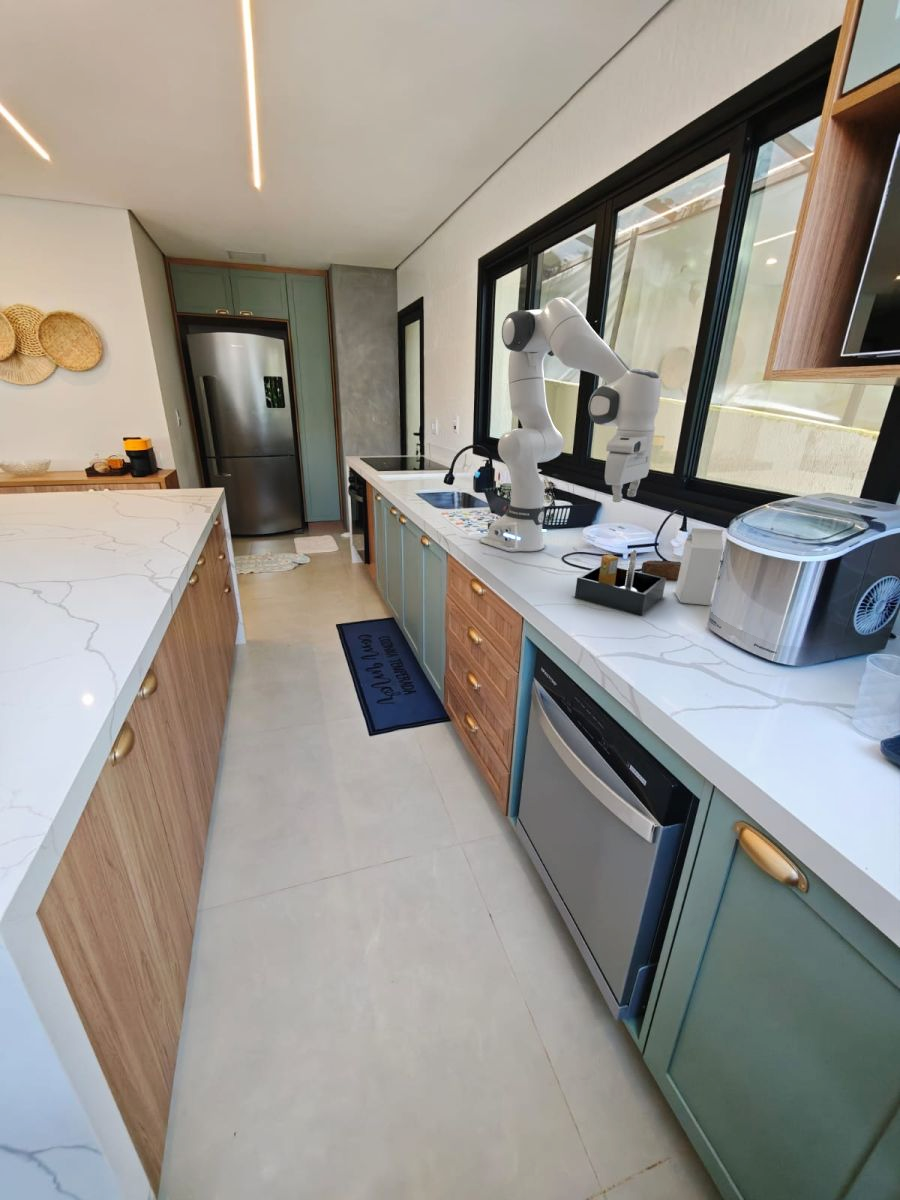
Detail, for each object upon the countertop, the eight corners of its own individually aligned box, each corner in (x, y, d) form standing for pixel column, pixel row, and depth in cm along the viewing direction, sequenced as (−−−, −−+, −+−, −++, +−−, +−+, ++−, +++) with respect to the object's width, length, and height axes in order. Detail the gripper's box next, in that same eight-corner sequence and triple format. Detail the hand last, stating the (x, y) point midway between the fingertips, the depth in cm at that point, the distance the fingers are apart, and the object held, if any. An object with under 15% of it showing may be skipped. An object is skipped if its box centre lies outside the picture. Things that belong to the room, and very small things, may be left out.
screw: (636, 595, 132) (636, 602, 128) (616, 593, 134) (616, 599, 130) (644, 548, 127) (644, 553, 123) (624, 546, 129) (624, 551, 125)
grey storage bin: (574, 597, 132) (577, 577, 130) (599, 582, 143) (602, 563, 141) (641, 616, 122) (645, 594, 120) (662, 597, 133) (666, 578, 131)
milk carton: (709, 605, 128) (727, 533, 121) (680, 603, 130) (695, 531, 122) (702, 595, 135) (718, 526, 128) (674, 593, 136) (689, 524, 129)
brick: (677, 576, 149) (680, 561, 147) (681, 580, 145) (684, 565, 144) (640, 573, 151) (643, 558, 149) (642, 578, 147) (645, 562, 145)
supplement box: (595, 590, 135) (600, 555, 131) (605, 588, 137) (611, 553, 133) (604, 594, 132) (609, 558, 129) (614, 593, 134) (619, 557, 130)
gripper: (635, 439, 132) (627, 492, 137) (603, 444, 117) (595, 503, 123) (660, 440, 128) (650, 495, 134) (630, 446, 114) (620, 507, 119)
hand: (624, 499), depth 128 cm, fingers open, 8 cm apart
